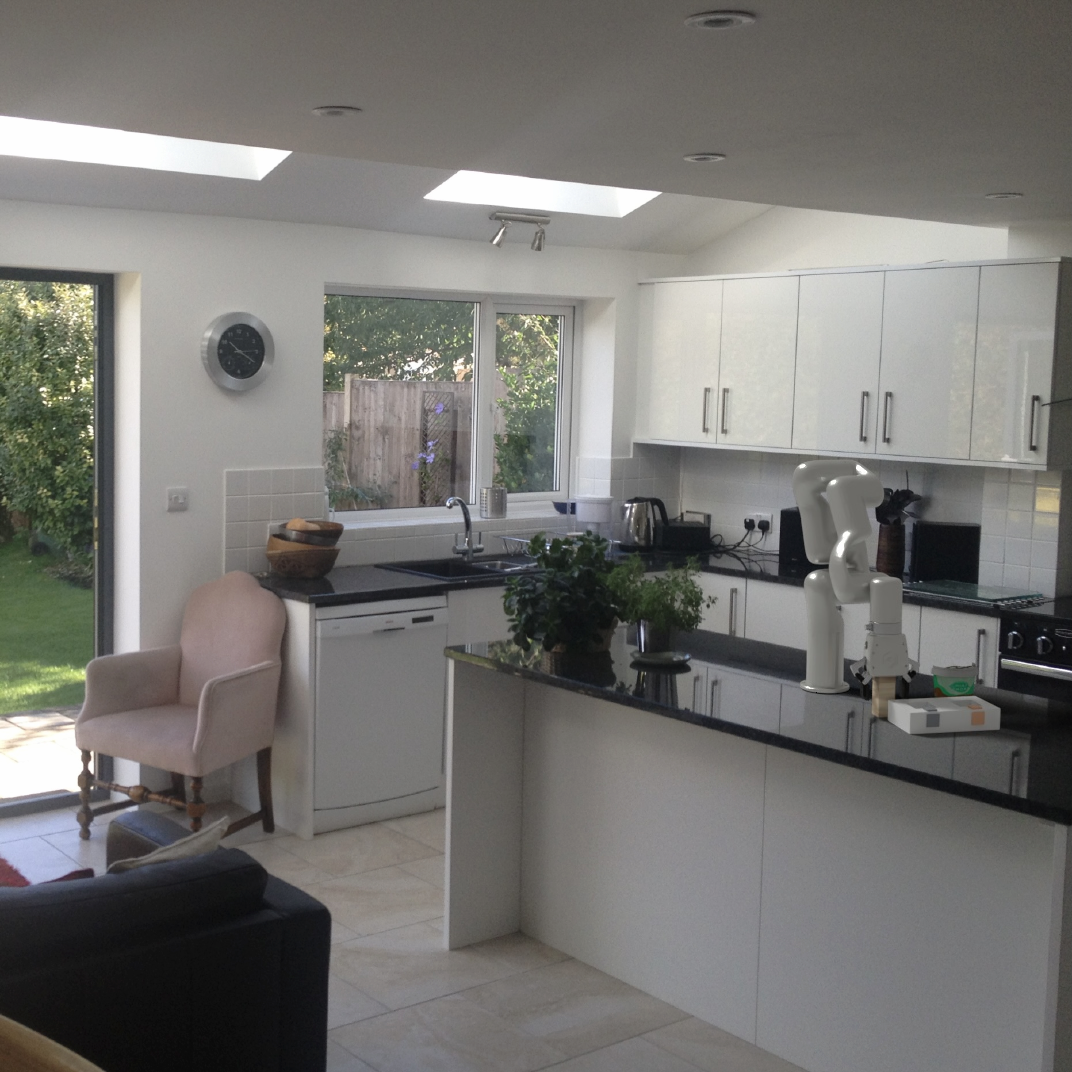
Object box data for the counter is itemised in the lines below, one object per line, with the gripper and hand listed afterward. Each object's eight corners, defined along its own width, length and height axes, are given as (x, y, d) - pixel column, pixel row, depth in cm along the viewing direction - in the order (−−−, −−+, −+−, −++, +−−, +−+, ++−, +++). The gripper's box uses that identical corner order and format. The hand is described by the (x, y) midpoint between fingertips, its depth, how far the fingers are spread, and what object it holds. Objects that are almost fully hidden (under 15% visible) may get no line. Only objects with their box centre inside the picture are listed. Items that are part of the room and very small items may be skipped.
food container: (944, 710, 312) (945, 670, 310) (929, 704, 318) (931, 665, 316) (987, 706, 315) (989, 667, 314) (973, 701, 321) (974, 662, 320)
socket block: (887, 720, 303) (888, 698, 302) (974, 716, 306) (975, 694, 306) (910, 734, 291) (910, 711, 290) (1000, 730, 294) (1001, 707, 294)
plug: (871, 713, 310) (872, 673, 309) (887, 712, 310) (888, 672, 309) (878, 717, 306) (879, 676, 305) (894, 716, 306) (895, 676, 305)
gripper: (857, 632, 300) (856, 703, 302) (926, 629, 303) (925, 700, 305) (845, 627, 308) (844, 696, 310) (912, 624, 310) (911, 693, 312)
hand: (884, 698), depth 307 cm, fingers open, 9 cm apart
